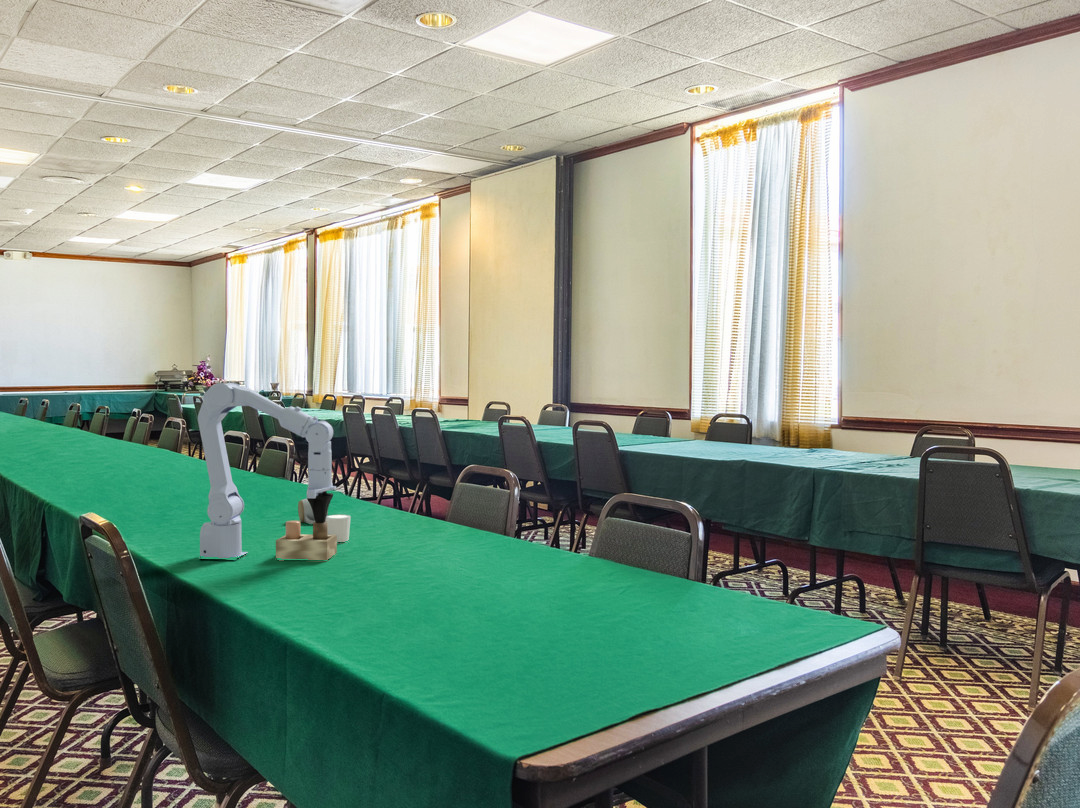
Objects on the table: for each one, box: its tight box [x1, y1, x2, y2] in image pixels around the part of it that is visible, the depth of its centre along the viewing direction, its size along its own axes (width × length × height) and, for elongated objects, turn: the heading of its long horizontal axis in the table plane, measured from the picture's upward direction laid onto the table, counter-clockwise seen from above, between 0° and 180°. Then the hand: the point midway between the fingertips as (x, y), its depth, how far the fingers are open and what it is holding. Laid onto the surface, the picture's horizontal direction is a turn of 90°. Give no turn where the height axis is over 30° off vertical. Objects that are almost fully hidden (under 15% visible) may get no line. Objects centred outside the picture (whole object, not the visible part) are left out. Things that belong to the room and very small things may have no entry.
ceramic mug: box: [297, 498, 329, 525], centre depth 263 cm, size 11×8×8 cm
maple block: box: [275, 533, 338, 561], centre depth 215 cm, size 13×8×5 cm, turn 87°
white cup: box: [326, 513, 352, 543], centre depth 235 cm, size 7×7×7 cm
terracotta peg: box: [285, 520, 302, 539], centre depth 215 cm, size 4×4×5 cm
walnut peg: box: [312, 521, 328, 540], centre depth 215 cm, size 4×4×5 cm
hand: (320, 522), depth 215 cm, fingers closed, pressing on walnut peg
